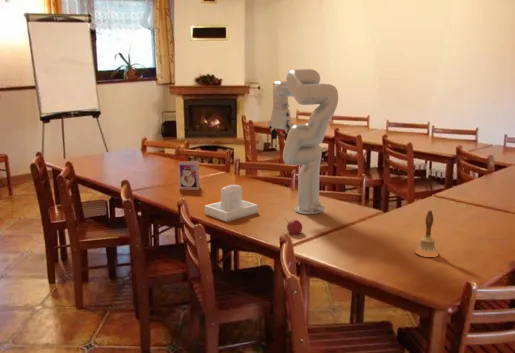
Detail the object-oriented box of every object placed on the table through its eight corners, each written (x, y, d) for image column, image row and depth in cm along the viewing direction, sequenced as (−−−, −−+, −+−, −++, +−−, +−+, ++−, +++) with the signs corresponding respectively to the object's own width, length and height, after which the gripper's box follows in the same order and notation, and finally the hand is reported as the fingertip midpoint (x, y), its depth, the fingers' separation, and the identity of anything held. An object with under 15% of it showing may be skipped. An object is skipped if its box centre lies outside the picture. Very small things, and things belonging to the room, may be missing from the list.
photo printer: (238, 208, 237) (237, 182, 234) (243, 210, 234) (243, 184, 231) (219, 212, 231) (218, 186, 228) (224, 214, 228) (223, 187, 225)
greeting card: (178, 189, 277) (177, 162, 274) (183, 186, 284) (182, 159, 281) (198, 190, 275) (197, 163, 271) (203, 187, 282) (202, 160, 278)
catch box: (257, 213, 233) (257, 204, 232) (226, 221, 221) (226, 213, 220) (235, 206, 244) (235, 198, 243) (204, 214, 233) (204, 205, 232)
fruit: (297, 235, 209) (290, 216, 211) (305, 231, 205) (298, 212, 206) (286, 238, 205) (279, 219, 207) (295, 234, 201) (288, 215, 202)
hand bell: (433, 249, 186) (436, 207, 183) (442, 257, 178) (445, 214, 175) (411, 249, 186) (413, 207, 182) (419, 258, 178) (421, 214, 174)
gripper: (298, 106, 250) (298, 141, 254) (273, 104, 263) (274, 137, 267) (287, 107, 246) (287, 142, 249) (263, 105, 258) (263, 139, 262)
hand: (280, 140), depth 258 cm, fingers open, 9 cm apart
